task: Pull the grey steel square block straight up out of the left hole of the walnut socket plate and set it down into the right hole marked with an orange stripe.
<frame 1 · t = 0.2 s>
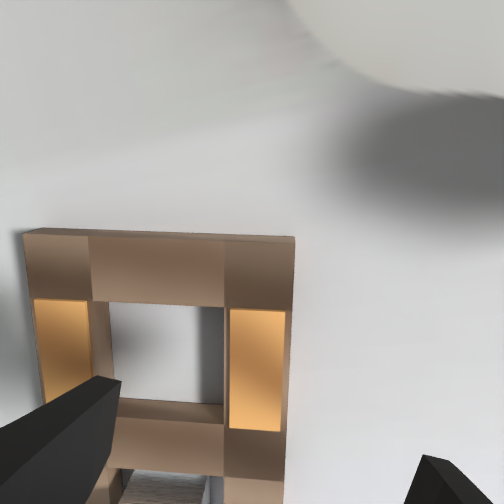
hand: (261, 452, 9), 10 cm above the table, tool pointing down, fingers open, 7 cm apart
socket plate: (172, 426, 21), on the table
steel block: (174, 494, 22), resting in socket plate
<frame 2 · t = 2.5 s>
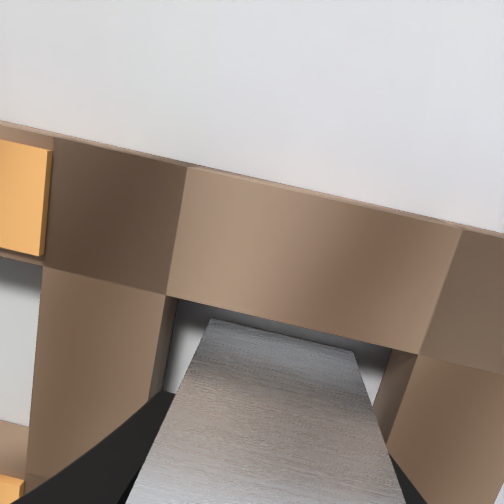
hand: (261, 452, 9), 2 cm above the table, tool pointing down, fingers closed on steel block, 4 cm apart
socket plate: (114, 360, 11), on the table
steel block: (265, 396, 11), resting in socket plate, touching gripper
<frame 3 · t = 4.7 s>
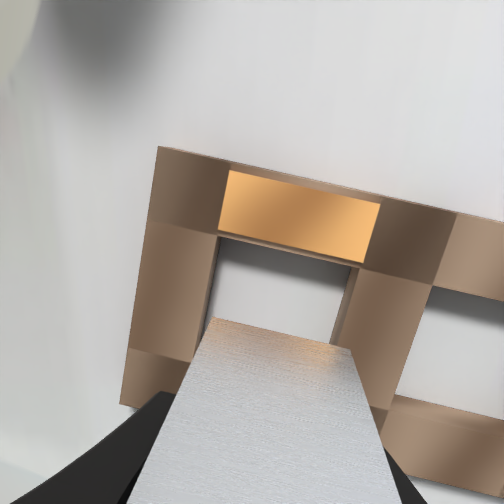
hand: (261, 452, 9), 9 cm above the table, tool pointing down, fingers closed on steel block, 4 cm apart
socket plate: (367, 327, 18), on the table
steel block: (265, 393, 12), point 7 cm above the table, touching gripper
when the fingers open (3 cm above the table, at t = 6.9 s): steel block stays where it is, resting in socket plate.
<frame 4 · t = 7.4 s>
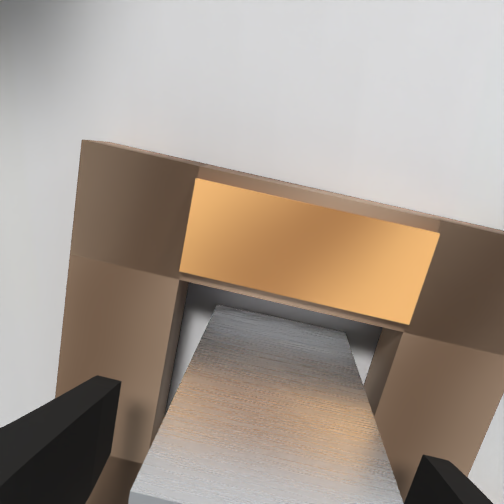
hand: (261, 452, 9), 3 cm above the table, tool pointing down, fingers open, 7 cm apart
socket plate: (407, 408, 12), on the table
steel block: (267, 374, 13), resting in socket plate
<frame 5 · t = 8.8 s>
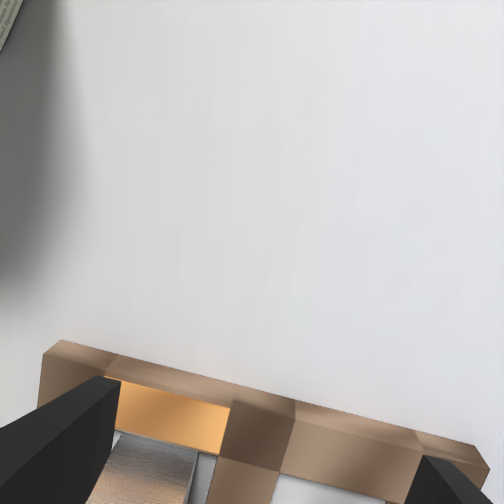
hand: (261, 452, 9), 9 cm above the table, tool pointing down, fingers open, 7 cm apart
socket plate: (238, 488, 21), on the table
steel block: (156, 467, 21), resting in socket plate
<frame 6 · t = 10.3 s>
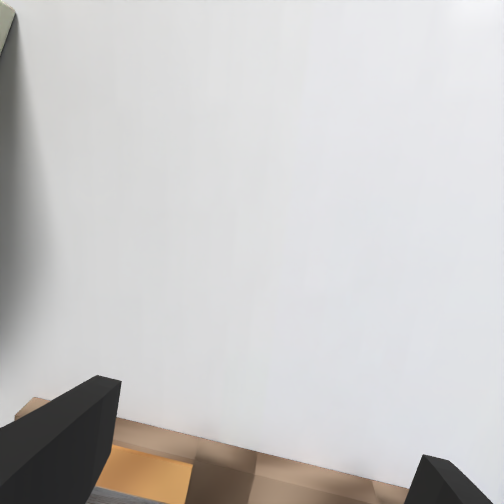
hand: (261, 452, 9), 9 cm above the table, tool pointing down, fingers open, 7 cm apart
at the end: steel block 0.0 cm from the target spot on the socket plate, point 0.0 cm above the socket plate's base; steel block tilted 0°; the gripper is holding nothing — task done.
